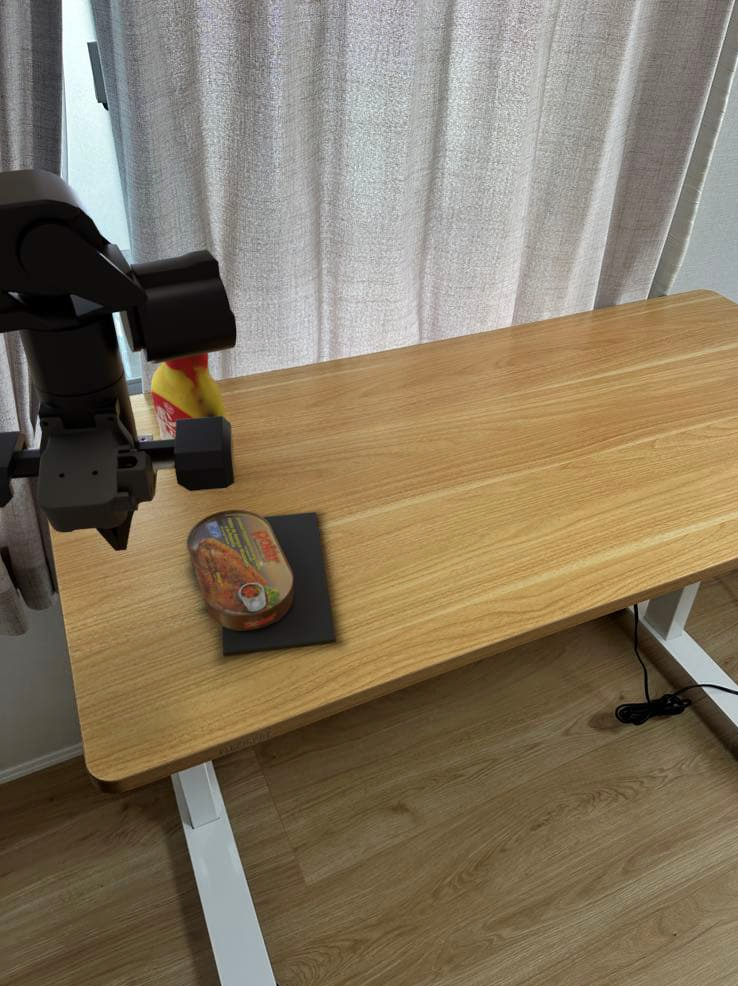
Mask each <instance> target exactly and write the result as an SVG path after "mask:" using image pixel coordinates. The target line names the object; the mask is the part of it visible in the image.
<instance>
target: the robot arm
mask: <svg viewBox="0 0 738 986" xmlns="http://www.w3.org/2000/svg"><path fill="white" fill-rule="evenodd" d="M115 313H119V316H120V320H121V324H122V328H123V332H124V336H125V339H126V342H127V344H128V347H129V349H130V351H131V353H133V354H134V353H135V354H136V353H139V352H142V350H143V354H144V358H145V361H146V362H147V363H151V364H152V365H157V364H161V363H162V362H167V361H172V360H176V359H181V358H186V357H191V356H196V355H201V354H206V353H208V354H210V353H215V352H220V351H225V350H230V349H234V348H235V347H236V345H237V336H238V335H237V333H238V332H237V321H236V316H235V313H234V312H233V310H232V308H231V305H230V301H229V297H228V294H227V290H226V287H225V285H224V282H223V279H222V277H221V272H220V263H219V261H218V259H217V258H216V257H215V256H214V254H213V253H212V252H211V251H210V250H209V249H207V248H206V249H201V250H193V251H189V252H187V253H184V254H182V255H180V256H173V257H167V258H161V259H160V258H159V259H155V260H148V261H142V262H137V263H136V262H134V263H130V264H129V262H128V261H127V259H126V257H125V256H124V254H123V253H122V251H121V249H120V248H119V246H118V245H117V243H113V242H112V241H110V239H108V238H107V237H106V236H105V235H104V234H103V233H102V232H100V229H99V228H98V226H97V225H96V223H95V221H94V220H93V218H92V216H91V214H90V213H89V211H88V209H87V207H86V206H85V204H84V202H83V200H82V198H81V197H80V195H79V193H78V192H77V190H75V188H73V187H72V186H71V185H70V184H69V183H68V182H67V181H66V180H65V179H63V178H62V177H61V176H60V175H57V174H55V173H53V172H51V171H47V170H42V169H37V168H24V169H16V170H9V171H0V335H1V334H7V333H11V332H17V331H18V334H19V337H20V341H21V345H22V348H23V352H24V354H25V358H26V362H27V365H28V368H29V372H30V376H31V379H32V382H33V386H34V390H35V393H36V397H37V400H38V404H39V407H38V410H37V416H38V420H39V423H38V424H39V428H40V431H41V432H40V433H41V434H40V443H39V447H30V445H29V441H28V438H27V435H26V433H24V432H23V431H21V430H12V431H0V509H3V508H5V507H6V506H7V505H8V504H9V503H10V502H11V501H12V499H14V496H15V490H14V486H13V483H12V481H13V480H14V479H15V480H16V479H17V480H18V479H28V478H38V479H37V480H38V481H37V492H36V500H37V503H38V505H39V507H40V508H41V510H42V512H43V514H44V515H45V518H46V519H47V521H48V523H49V524H50V526H51V528H52V529H53V530H54V531H56V532H57V533H63V534H64V533H72V532H74V531H80V530H81V531H82V530H92V529H95V530H96V531H97V532H98V533H99V534H100V535H101V537H102V538H103V539H104V540H105V541H106V542H107V543H108V544H109V546H110V547H111V548H112V549H113V550H114V551H115V552H121V551H127V549H128V544H129V543H128V542H129V537H130V532H131V528H132V527H131V526H132V521H133V517H134V514H135V512H136V511H137V512H138V510H139V505H141V504H143V503H149V502H152V501H153V500H154V498H155V496H156V493H157V480H158V471H160V470H171V469H174V471H175V478H176V484H177V485H179V486H180V487H182V488H184V489H186V490H187V491H189V492H199V491H207V490H219V489H228V488H229V487H231V486H232V485H233V484H235V457H234V455H235V453H234V439H233V429H232V424H231V422H229V421H228V419H227V418H226V419H225V418H224V417H223V416H216V417H202V418H188V419H176V431H175V439H166V440H161V439H156V440H155V439H154V436H153V434H152V433H144V434H138V431H137V426H136V419H135V415H134V411H133V406H132V402H131V397H130V396H131V395H130V392H129V388H128V387H129V386H128V382H127V378H126V377H127V375H126V370H125V366H124V363H123V358H122V354H121V349H120V344H119V338H118V335H117V330H116V325H115V324H116V323H115V319H114V316H113V314H115Z"/></svg>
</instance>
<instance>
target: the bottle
mask: <svg viewBox="0 0 738 986" xmlns="http://www.w3.org/2000/svg"><path fill="white" fill-rule="evenodd" d="M209 368H210V367H209V353H206V354H201V355H196V356H191V357H186V358H181V359H176V360H172V361H167V362H162V363H160V364H159V366H158V367H157V368H156V369H155V372H154V374H153V376H152V378H151V387H150V392H151V398H152V404H153V407H154V410H155V415H156V420H157V423H158V426H159V436H160V440H166V439H175V431H176V419H188V418H202V417H216V416H223V417H224V418H225V419H226V420H227V411H226V408H225V403H224V402H225V401H224V399H223V395H222V391H221V389H220V387H219V385H218V384H217V382H216V381H215V380H214V378H213V377H212V375H211V372H210V369H209Z"/></svg>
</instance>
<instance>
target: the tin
mask: <svg viewBox="0 0 738 986" xmlns="http://www.w3.org/2000/svg"><path fill="white" fill-rule="evenodd" d="M263 517H264V516H262V515H260V514H258V513H255V512H253V511H251V510H245V509H228V510H223V511H218V512H214V513H212V514H210V515H208V516H205V517H204V518H202V519H201V520H199V521H198V522H197V523H195V524H194V525H193V526H192V528H191V529H190V531H189V532H188V533H187V536H186V540H185V541H186V543H185V544H186V549H187V552H188V554H189V558H190V562H191V565H192V567H193V571H194V573H195V576H196V579H197V582H198V585H199V588H200V591H201V594H202V597H203V600H204V603H205V606H206V610H207V612H208V615H209V616H210V618H211V619H212V620H213V621H214V622H215V623H216V624H217V625H219V626H220V627H222V628H223V627H225V628H228V629H231V630H236V631H248V630H253V629H258V628H262V627H265V626H268V625H270V624H272V623H275V622H277V621H278V620H280V619H281V618H282V617H283V616H284V615H285V614H286V613H287V612H288V610H289V609H290V607H291V605H292V602H293V596H294V589H293V580H294V578H293V572H292V570H291V568H290V566H289V564H288V561H287V559H286V557H285V555H284V553H283V551H282V549H281V547H280V545H279V543H278V541H277V539H276V537H275V535H274V532H273V530H272V528H271V526H270V524H269V523H268V522H267V520H265V519H264V518H263Z"/></svg>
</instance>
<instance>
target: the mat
mask: <svg viewBox="0 0 738 986" xmlns="http://www.w3.org/2000/svg"><path fill="white" fill-rule="evenodd" d="M262 517H263V518H264V519H265V520H267V522H268V523H269V524H270V526H271V528H272V530H273V532H274V535H275V537H276V539H277V541H278V543H279V545H280V547H281V549H282V551H283V553H284V555H285V557H286V559H287V561H288V564H289V566H290V568H291V570H292V572H293V578H294V580H293V589H294V596H293V602H292V605H291V607H290V609H289V610H288V612H287V613H286V614H285V615H284V616H283V617H282V618H281V619H280V620H278V621H277V622H275V623H272V624H270V625H268V626H265V627H262V628H258V629H253V630H248V631H236V630H231V629H228V628H225V627H223V626H222V656H232V655H239V654H249V653H255V652H256V653H257V652H264V651H272V650H281V649H289V648H296V647H297V648H298V647H305V646H313V645H322V644H330V643H336V642H337V640H336V633H335V626H334V620H333V614H332V613H333V612H332V608H331V600H330V593H329V587H328V582H327V580H328V579H327V575H326V568H325V562H324V555H323V549H322V543H321V536H320V530H319V524H318V516H317V512H315V511H311V512H304V513H303V512H302V513H293V514H282V515H271V516H270V515H269V516H262Z"/></svg>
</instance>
